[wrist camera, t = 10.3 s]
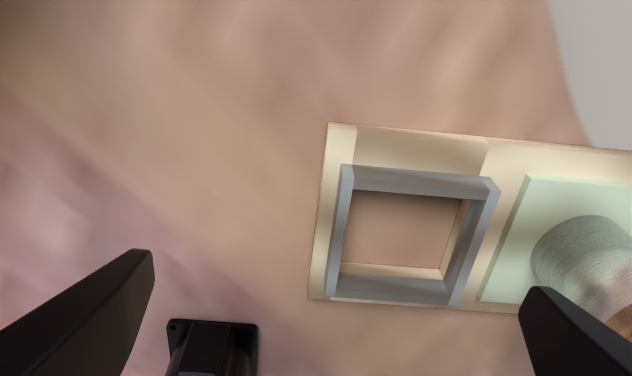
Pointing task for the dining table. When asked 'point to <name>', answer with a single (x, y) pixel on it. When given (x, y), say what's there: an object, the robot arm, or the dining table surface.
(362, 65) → the dining table surface
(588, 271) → the steel tin
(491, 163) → the pocket board
